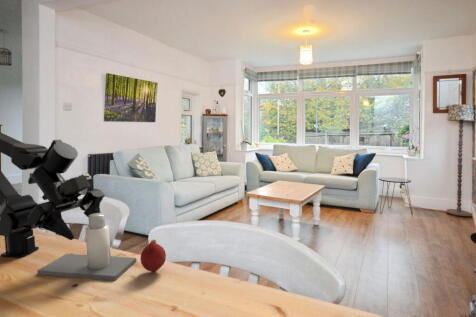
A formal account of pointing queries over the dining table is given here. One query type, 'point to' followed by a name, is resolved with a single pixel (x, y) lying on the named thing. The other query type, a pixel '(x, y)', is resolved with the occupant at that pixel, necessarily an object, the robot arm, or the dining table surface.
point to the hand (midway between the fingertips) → (88, 232)
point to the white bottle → (98, 242)
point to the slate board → (86, 267)
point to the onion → (153, 256)
